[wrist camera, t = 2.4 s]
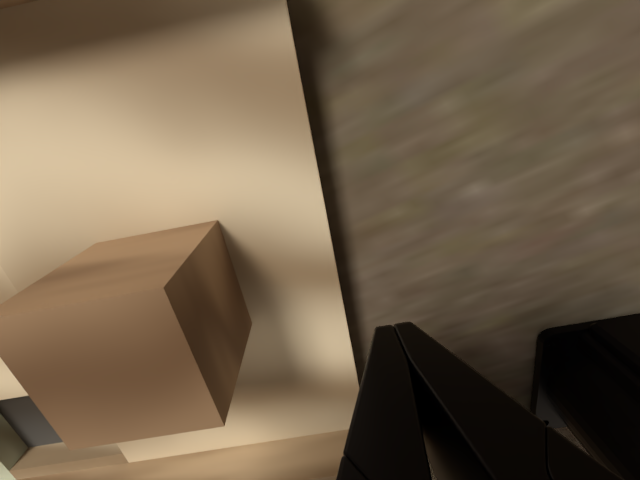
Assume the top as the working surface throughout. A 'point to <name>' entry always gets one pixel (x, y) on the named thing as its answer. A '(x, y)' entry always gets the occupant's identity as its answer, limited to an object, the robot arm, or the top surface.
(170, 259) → the block
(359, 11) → the top surface
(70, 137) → the box
